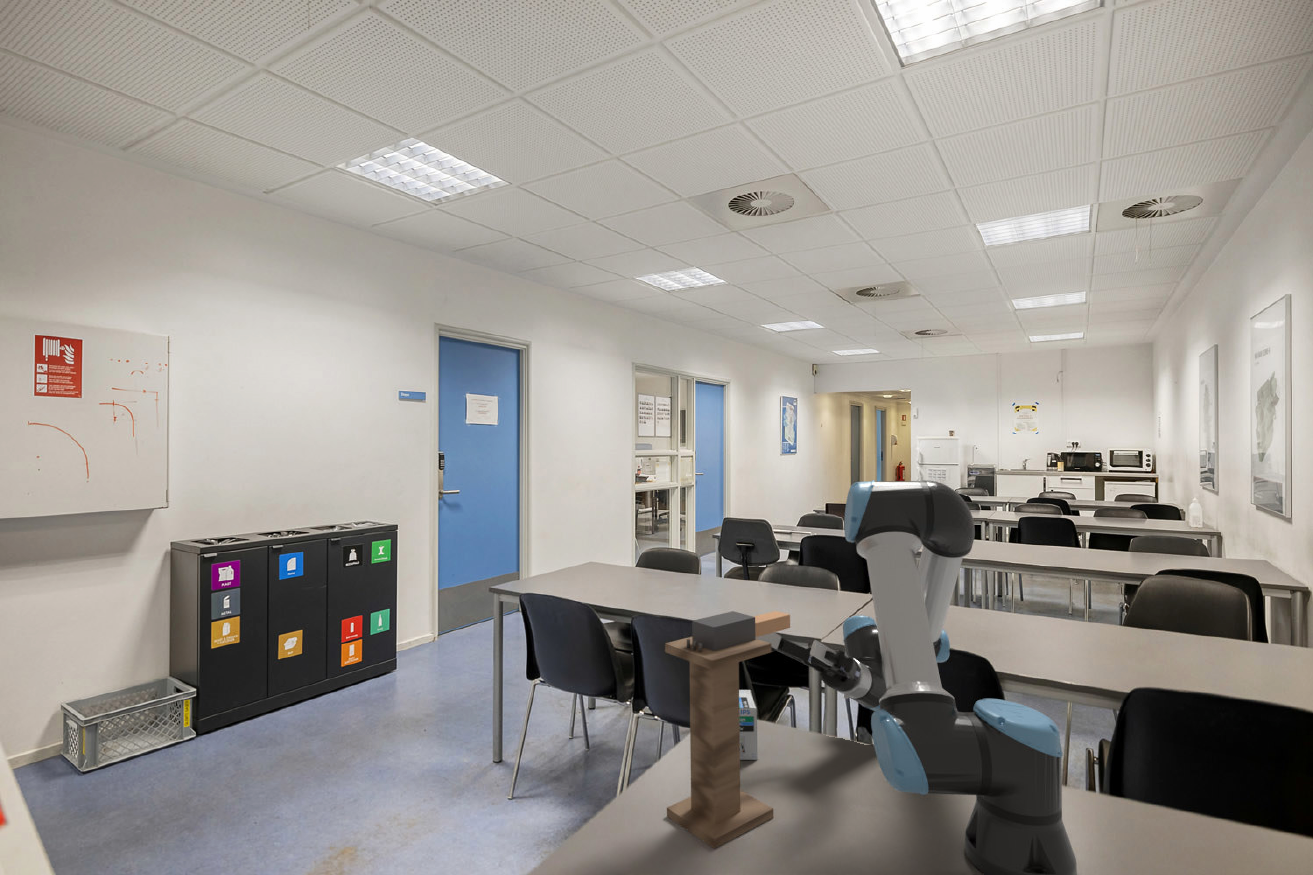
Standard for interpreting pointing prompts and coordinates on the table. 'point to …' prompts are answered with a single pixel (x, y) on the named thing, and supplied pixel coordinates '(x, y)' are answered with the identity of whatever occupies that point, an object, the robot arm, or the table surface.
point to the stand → (716, 745)
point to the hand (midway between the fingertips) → (784, 638)
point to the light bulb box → (747, 726)
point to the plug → (736, 628)
